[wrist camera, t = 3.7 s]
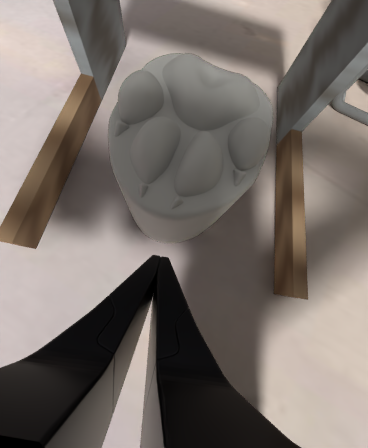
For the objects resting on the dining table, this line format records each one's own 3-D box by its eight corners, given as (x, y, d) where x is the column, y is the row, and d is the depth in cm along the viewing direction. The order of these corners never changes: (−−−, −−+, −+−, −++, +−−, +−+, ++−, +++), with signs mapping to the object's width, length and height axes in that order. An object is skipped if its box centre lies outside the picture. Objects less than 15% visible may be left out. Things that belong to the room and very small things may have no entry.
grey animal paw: (242, 154, 20) (298, 71, 12) (207, 261, 16) (256, 246, 8) (158, 120, 20) (158, 12, 12) (102, 219, 16) (42, 159, 8)
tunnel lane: (286, 296, 16) (657, 352, 4) (20, 245, 14) (-676, 90, 2) (285, 90, 24) (408, -93, 12) (116, 42, 23) (68, -223, 11)
